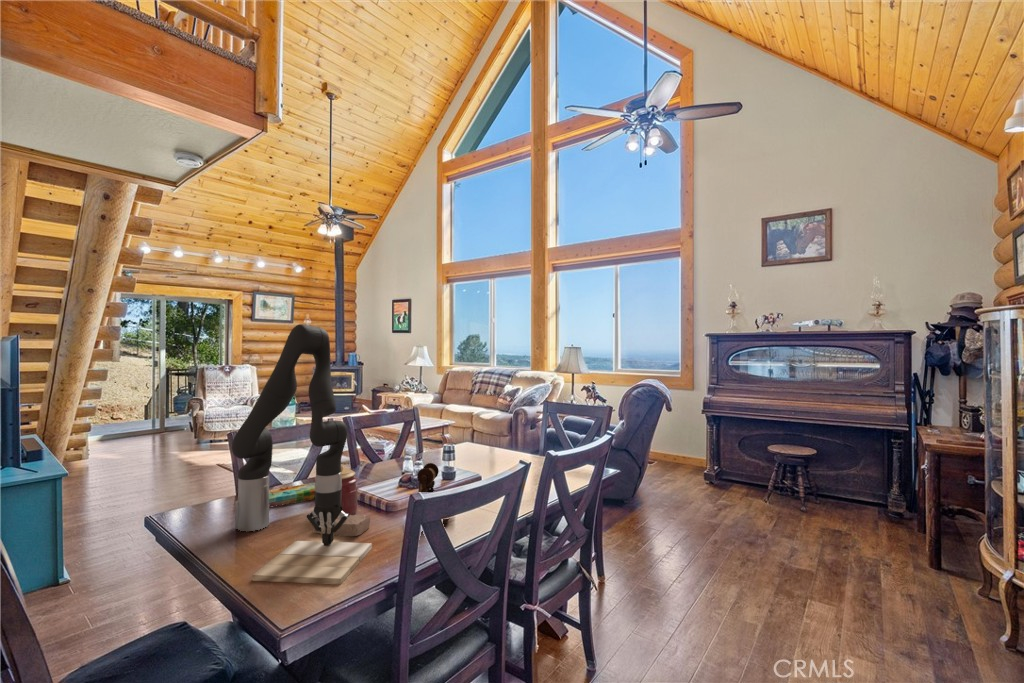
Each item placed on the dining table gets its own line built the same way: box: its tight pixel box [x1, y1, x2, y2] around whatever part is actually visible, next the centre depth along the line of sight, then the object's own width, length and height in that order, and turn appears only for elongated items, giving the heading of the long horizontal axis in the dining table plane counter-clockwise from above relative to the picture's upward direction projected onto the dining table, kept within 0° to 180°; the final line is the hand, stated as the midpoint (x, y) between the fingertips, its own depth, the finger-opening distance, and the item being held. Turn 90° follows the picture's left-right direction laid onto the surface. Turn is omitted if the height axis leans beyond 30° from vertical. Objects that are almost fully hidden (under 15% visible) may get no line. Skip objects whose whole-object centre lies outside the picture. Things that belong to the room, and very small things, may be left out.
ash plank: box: [279, 540, 373, 563], centre depth 139 cm, size 24×9×2 cm, turn 85°
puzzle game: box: [269, 482, 315, 507], centre depth 187 cm, size 12×5×20 cm
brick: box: [312, 514, 371, 537], centre depth 156 cm, size 16×8×5 cm, turn 79°
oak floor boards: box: [251, 553, 360, 585], centre depth 128 cm, size 24×12×2 cm, turn 85°
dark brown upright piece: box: [416, 462, 450, 524], centre depth 162 cm, size 15×15×20 cm
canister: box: [341, 464, 359, 515], centre depth 172 cm, size 13×13×18 cm
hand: (327, 544), depth 142 cm, fingers closed
